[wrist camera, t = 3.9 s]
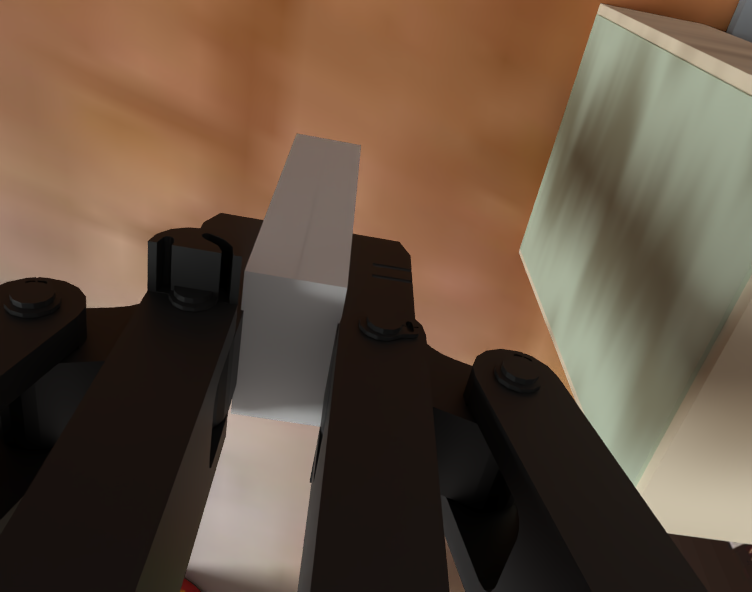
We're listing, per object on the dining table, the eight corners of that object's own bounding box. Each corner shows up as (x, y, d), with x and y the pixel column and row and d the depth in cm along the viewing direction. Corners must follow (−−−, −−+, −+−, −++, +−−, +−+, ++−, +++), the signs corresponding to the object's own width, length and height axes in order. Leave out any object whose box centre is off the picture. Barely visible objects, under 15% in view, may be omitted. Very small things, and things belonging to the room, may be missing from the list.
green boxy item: (597, 2, 21) (842, 121, 10) (704, 24, 21) (1063, 163, 10) (516, 252, 25) (619, 526, 14) (605, 267, 26) (774, 547, 15)
